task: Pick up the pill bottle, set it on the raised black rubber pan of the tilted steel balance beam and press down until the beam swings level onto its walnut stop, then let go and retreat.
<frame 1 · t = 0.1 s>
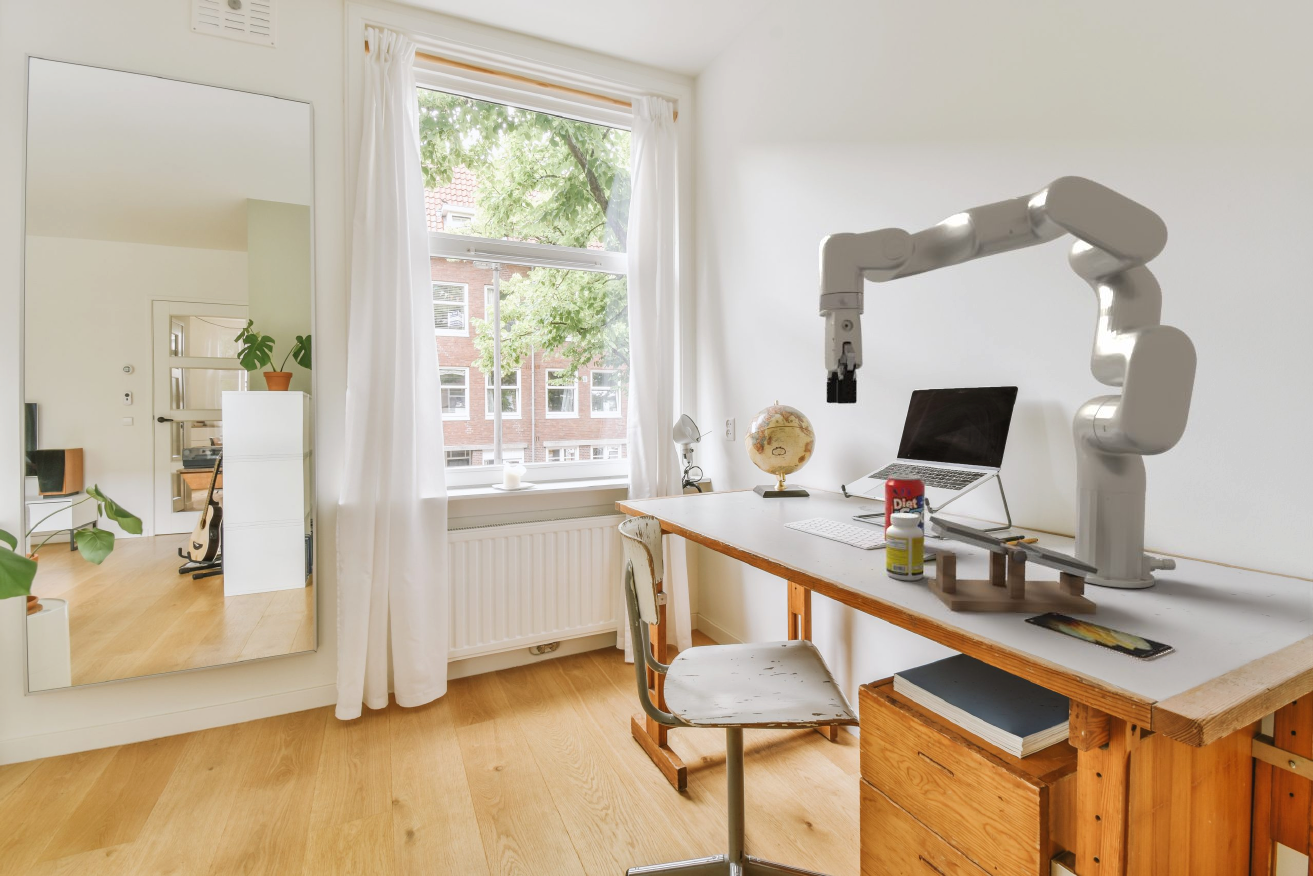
hand: (840, 403, 108), 31 cm above the table, fingers open, 9 cm apart
smartphone: (1093, 638, 81), on the table
beam: (1007, 547, 94), point 8 cm above the table, hinge at 16.5°
stand: (1006, 599, 95), on the table
pill bottle: (904, 577, 108), on the table
soda can: (904, 546, 130), on the table
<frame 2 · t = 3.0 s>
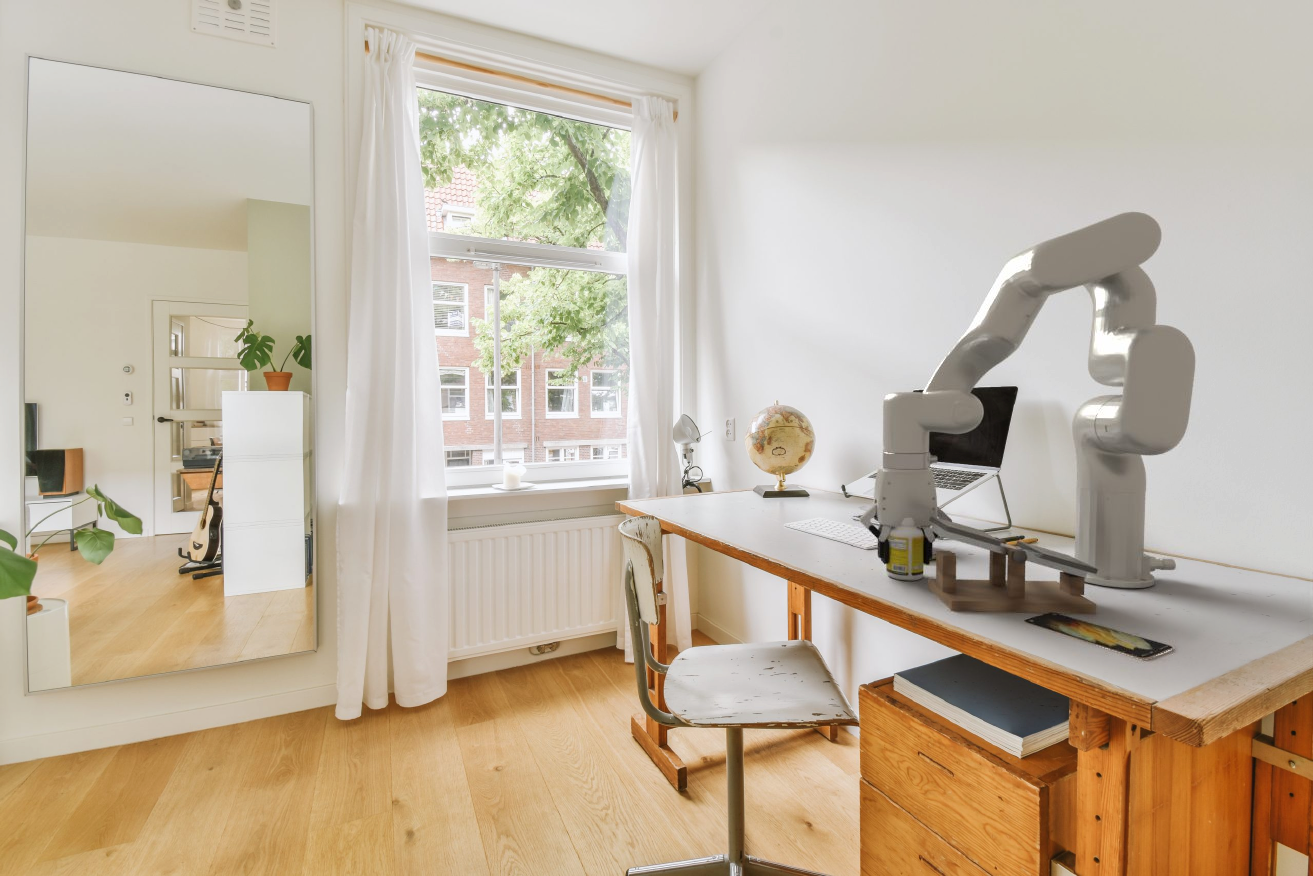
hand: (904, 561, 108), 3 cm above the table, fingers closed on pill bottle, 6 cm apart
pill bottle: (904, 577, 108), on the table, touching gripper
everything else where it was.
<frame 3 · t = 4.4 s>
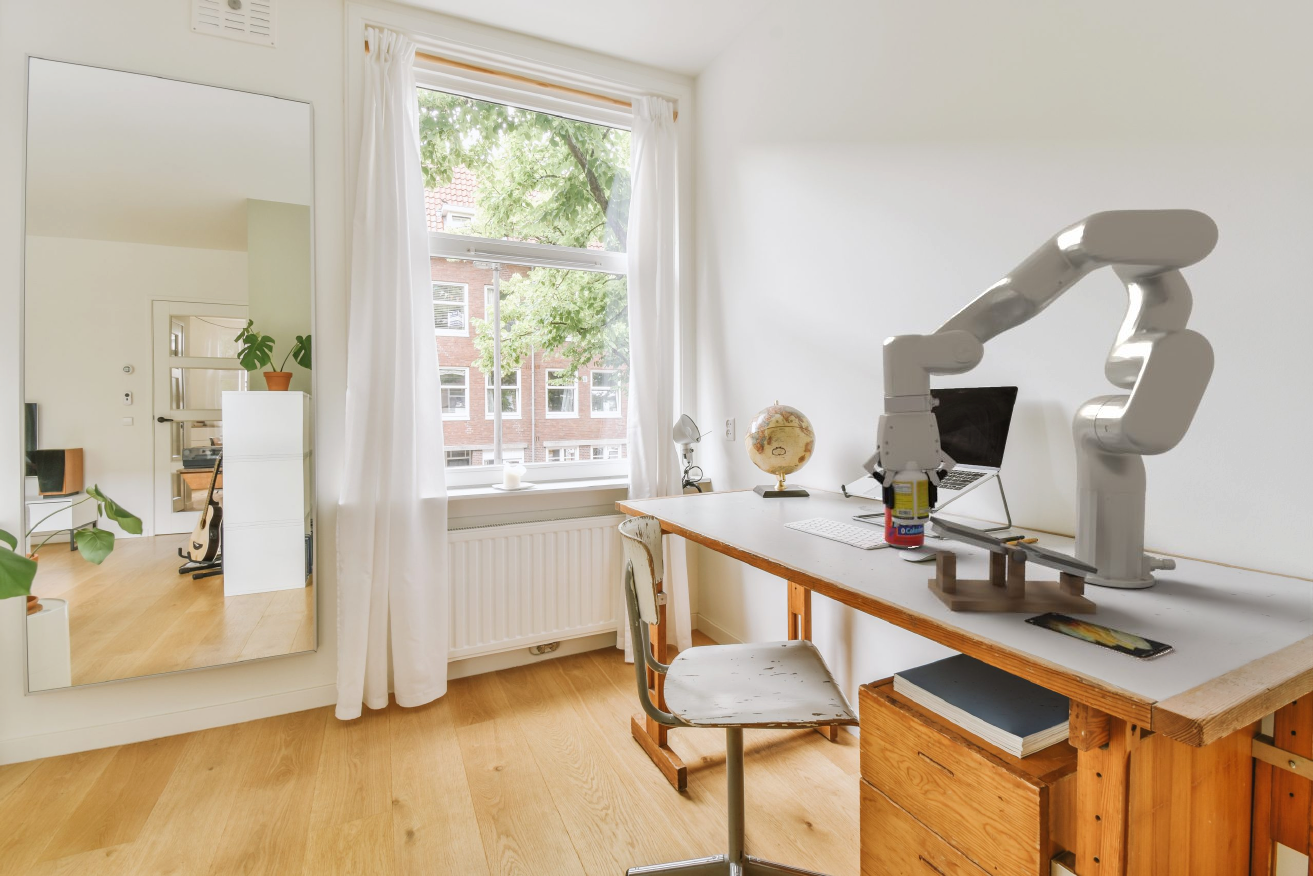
hand: (909, 506, 107), 13 cm above the table, fingers closed on pill bottle, 6 cm apart
pill bottle: (910, 522, 107), point 10 cm above the table, touching gripper
everything else where it was.
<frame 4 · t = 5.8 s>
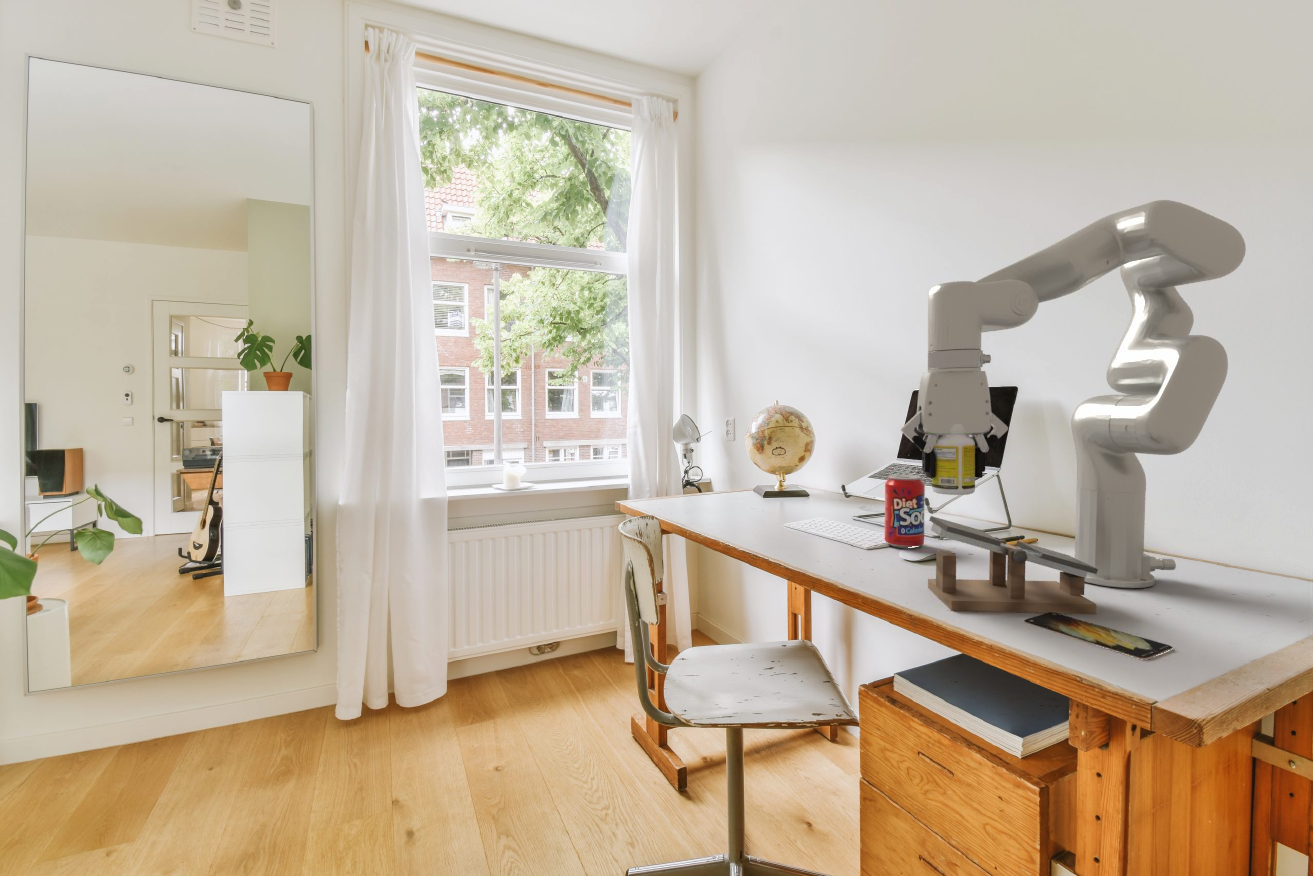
hand: (953, 475, 96), 19 cm above the table, fingers closed on pill bottle, 6 cm apart
pill bottle: (953, 493, 96), point 16 cm above the table, touching gripper
everything else where it was.
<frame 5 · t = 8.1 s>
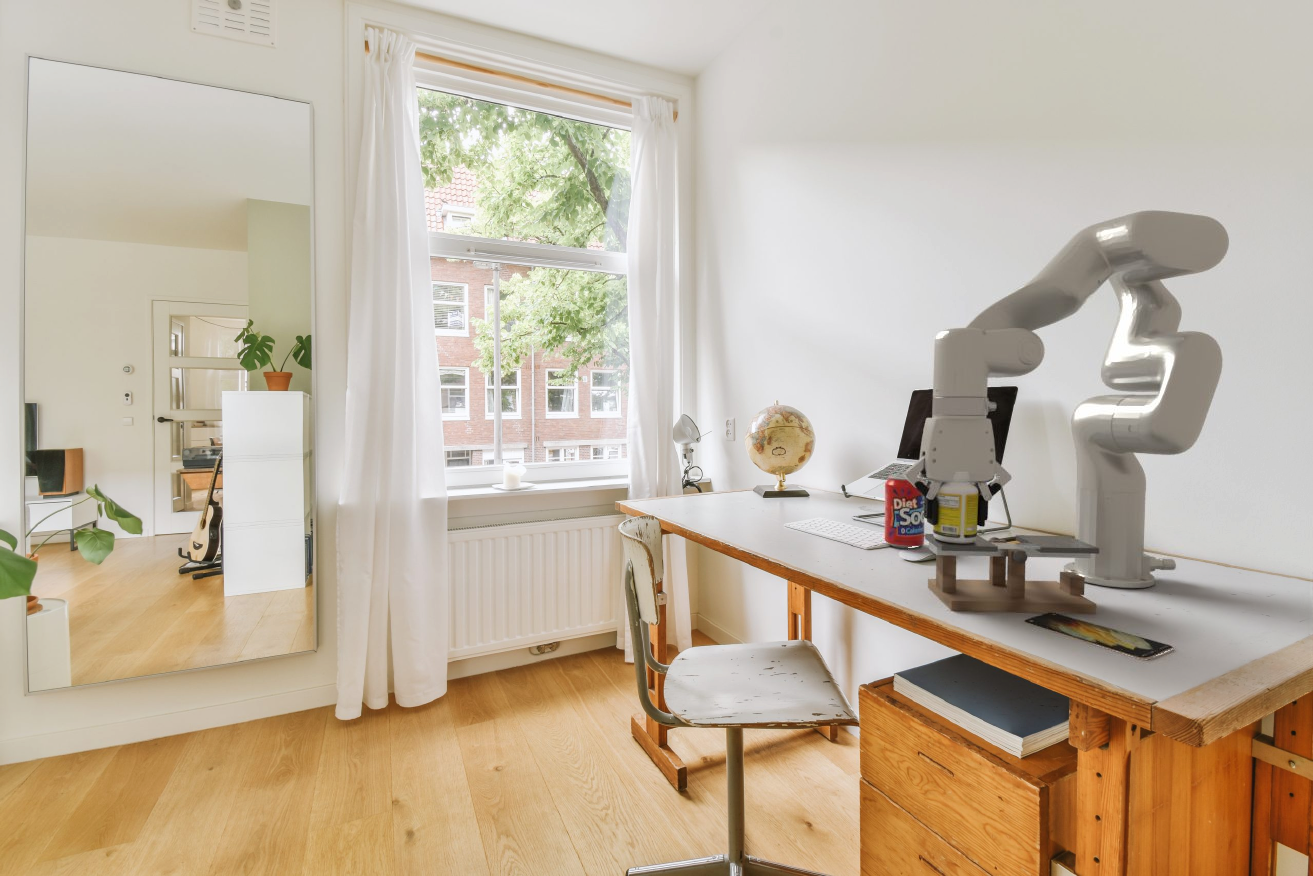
hand: (955, 523, 95), 12 cm above the table, fingers closed on pill bottle, 6 cm apart
beam: (1007, 547, 94), point 8 cm above the table, hinge at 0.3°, touching pill bottle
pill bottle: (954, 540, 95), point 9 cm above the table, touching beam, gripper
everything else where it was.
when the fingers open (12 cm above the table, at t = 9.0 s): pill bottle stays where it is, resting on beam.
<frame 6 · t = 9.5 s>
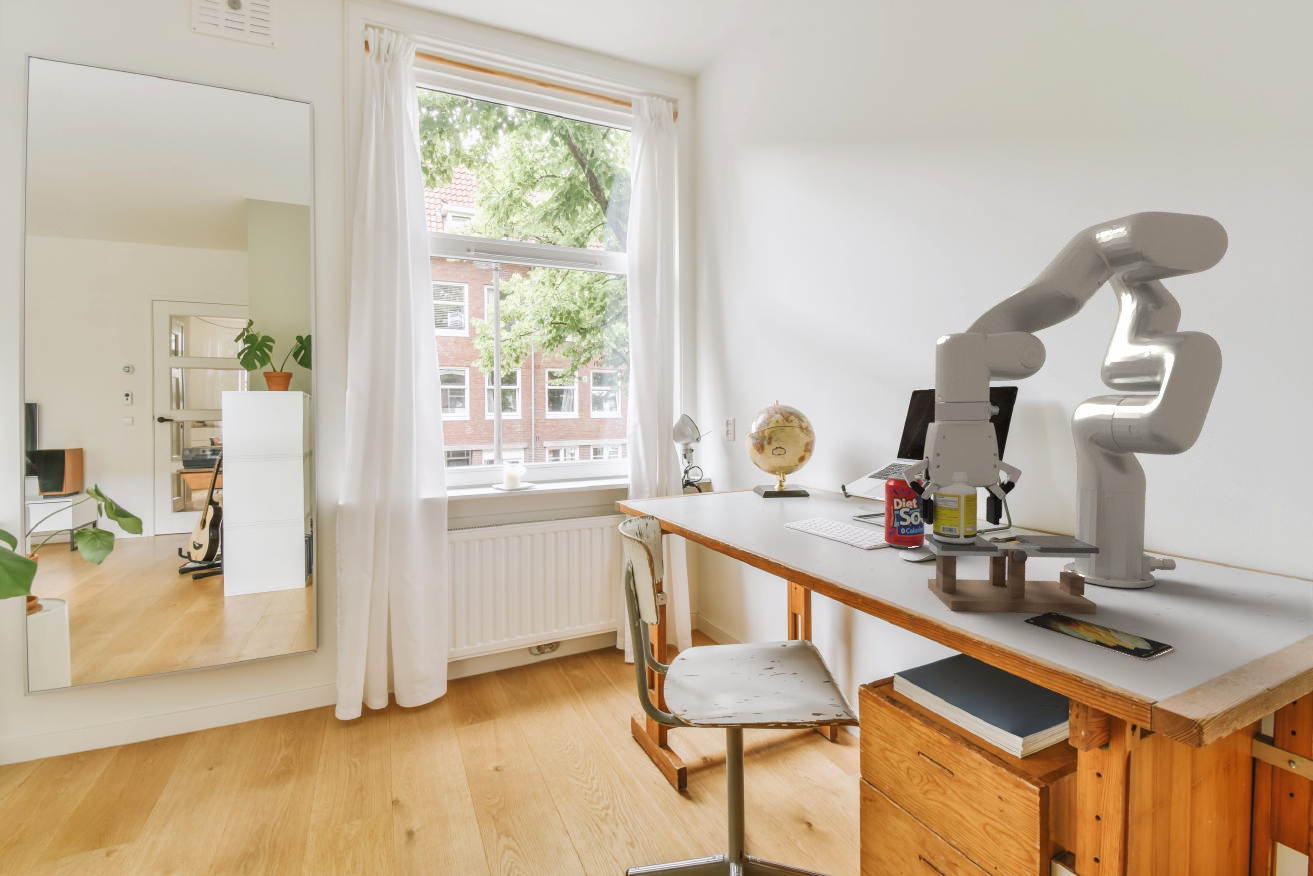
hand: (959, 523, 95), 12 cm above the table, fingers open, 9 cm apart
pill bottle: (954, 541, 95), point 9 cm above the table, touching beam
everything else where it was.
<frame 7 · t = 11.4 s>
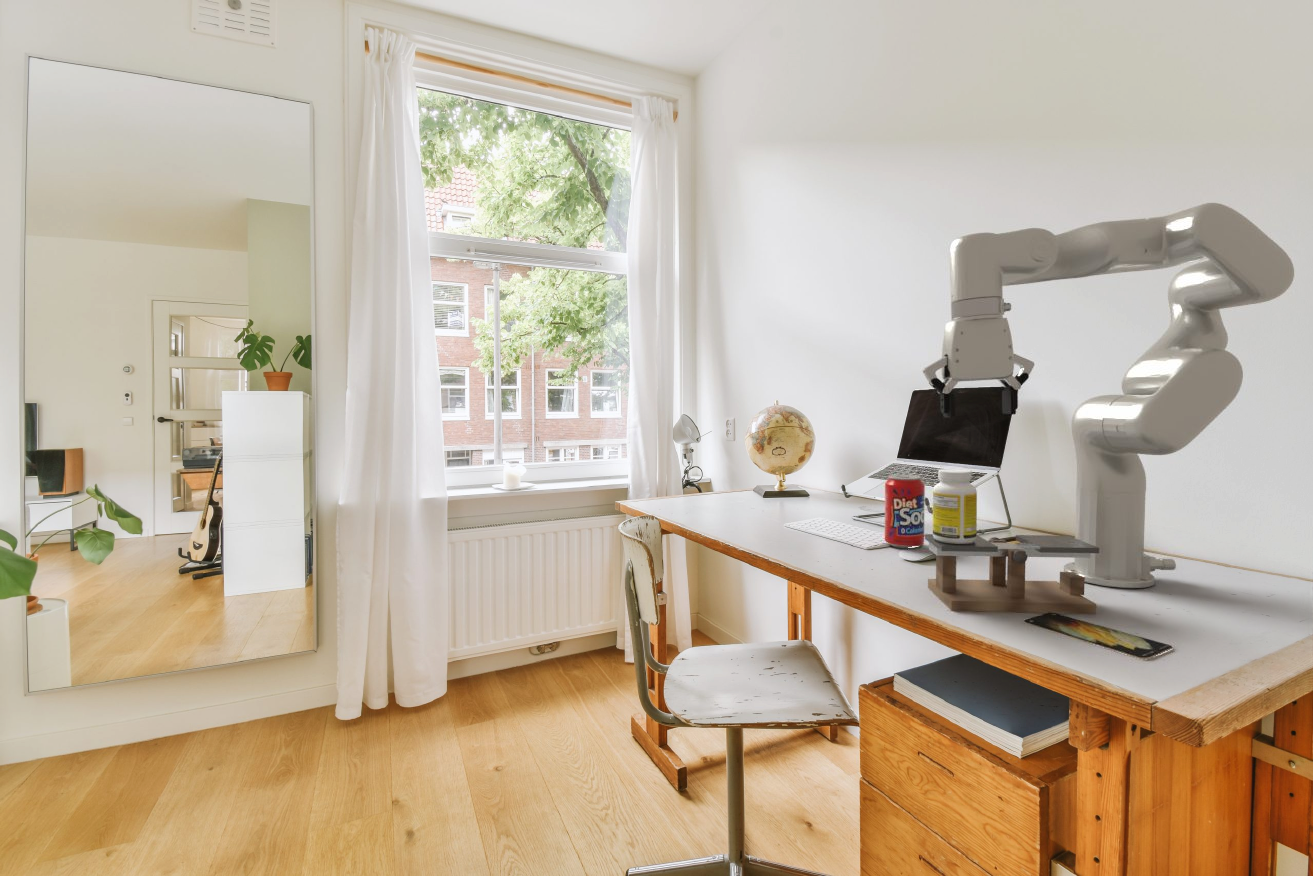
hand: (978, 415, 101), 29 cm above the table, fingers open, 9 cm apart
nothing on the table moved.
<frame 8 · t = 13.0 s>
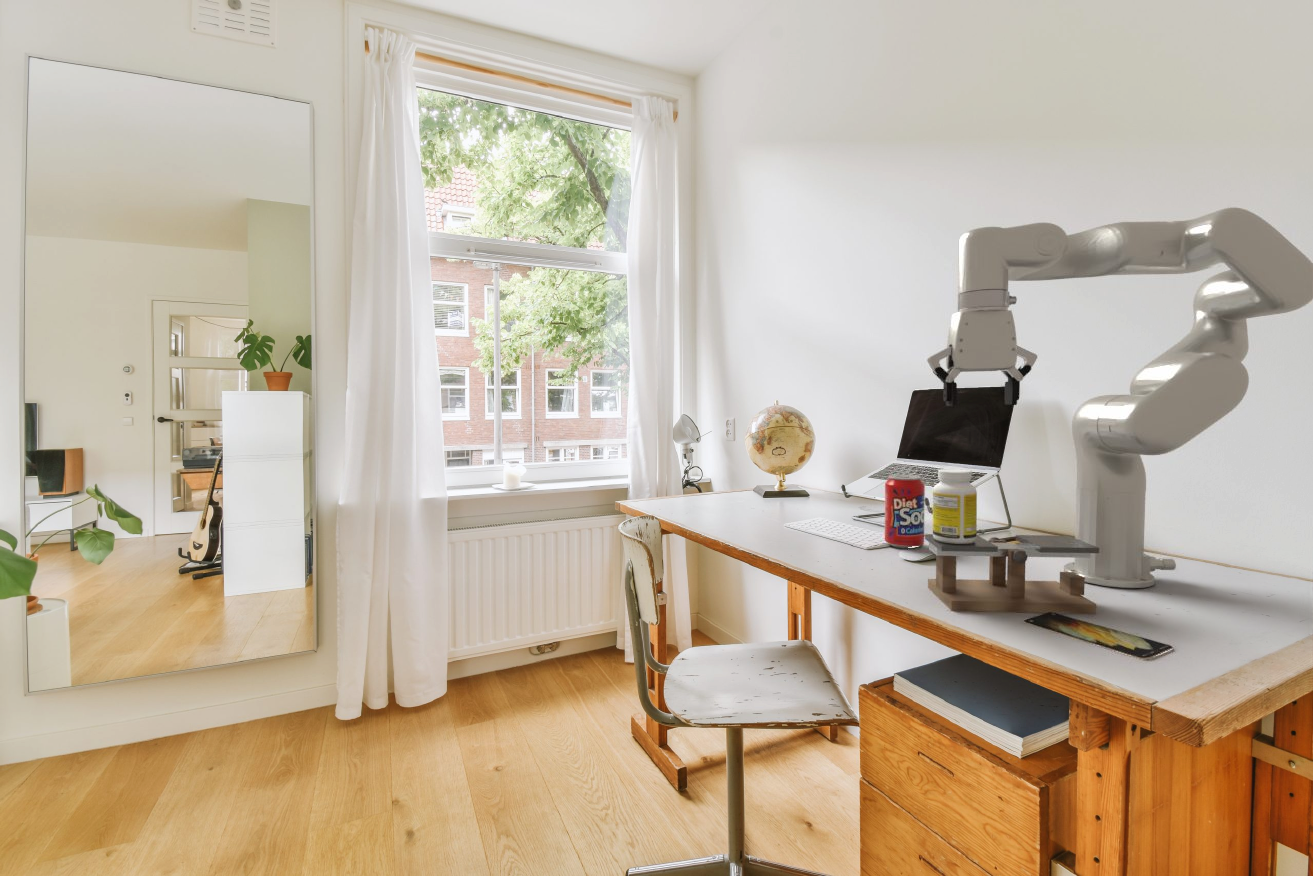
hand: (980, 405, 104), 30 cm above the table, fingers open, 9 cm apart
nothing on the table moved.
at the end: beam at +0° (first picture: +16°); pill bottle touching beam; pill bottle tilted 0° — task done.
